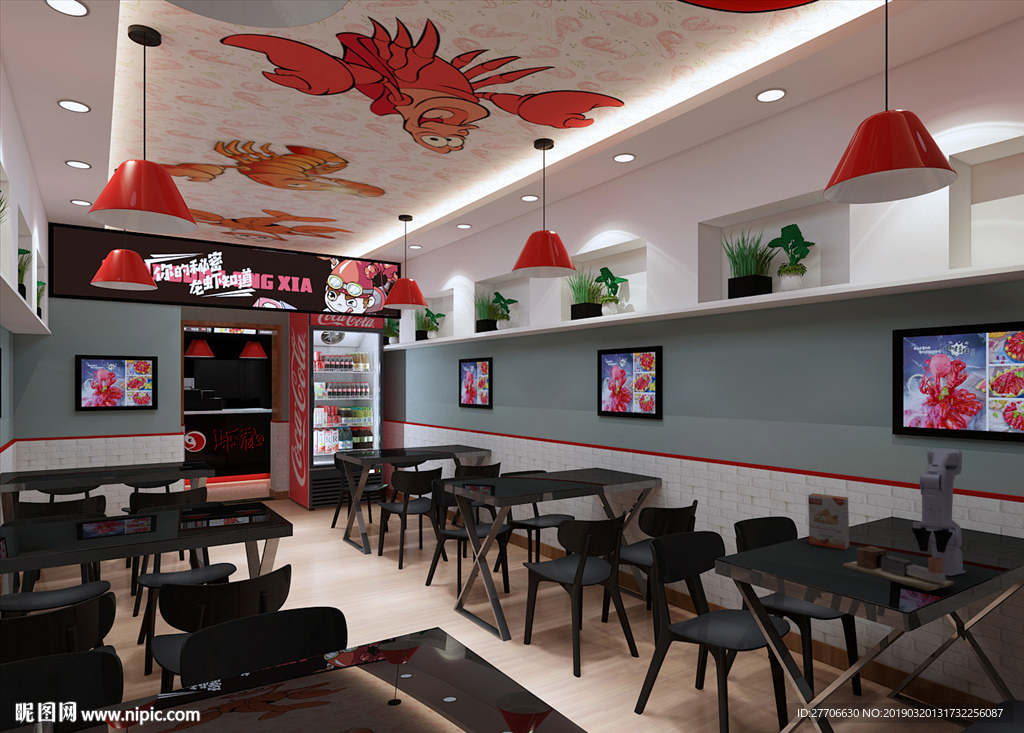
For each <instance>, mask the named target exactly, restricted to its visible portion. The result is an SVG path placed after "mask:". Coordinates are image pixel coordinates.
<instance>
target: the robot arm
mask: <svg viewBox="0 0 1024 733" xmlns="http://www.w3.org/2000/svg"><path fill="white" fill-rule="evenodd" d="M926 456H927V458H926V459H927V463H928V465H927V467H926V470H925V472H924V473H923V474H920V475H919V488H920V496H921V521H913V522H912V528H911V531H912V533H913V534H914V536H915V538H916V541H917V544H918V548H919V551H920V552H926V553H927V552H928V551H929V550H928V549H929V544H930V547H931V557H933V556H937V557H941V558H943V572H945V576H948V577H951V576H957V575H960V574H965V573H966V570H964V568H963V567H964V566H963V563H964V562H963V552H962V550H961V549H960V548H961V547H962V543H963V542H962V541H963V540H962V537H963V536H962V528H961V525H959V524H958V523H957V522H956V521H955V520H953V503H954V502H953V500H954V498H953V497H954V481H955V477H956V476H958V475H961V472H962V470H963V467H962V465H963V453H962V450H960V449H959V448H956V449H955V448H952V449H951V448H936V447H935V448H933V447H929V448H927V453H926Z"/></svg>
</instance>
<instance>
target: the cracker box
mask: <svg viewBox="0 0 1024 733" xmlns="http://www.w3.org/2000/svg"><path fill="white" fill-rule="evenodd" d="M807 498H808V501H807V502H808V542H809V545H812V546H813V545H814V546H820V547H827V548H831V549H837V550H842V551H846V550H847V549H849V548H850V524H849V522H850V519H849V517H850V516H849V497H847V496H839V495H833V494H832V495H829V494H822V493H814V492H813V493H809V494H808V497H807Z"/></svg>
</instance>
